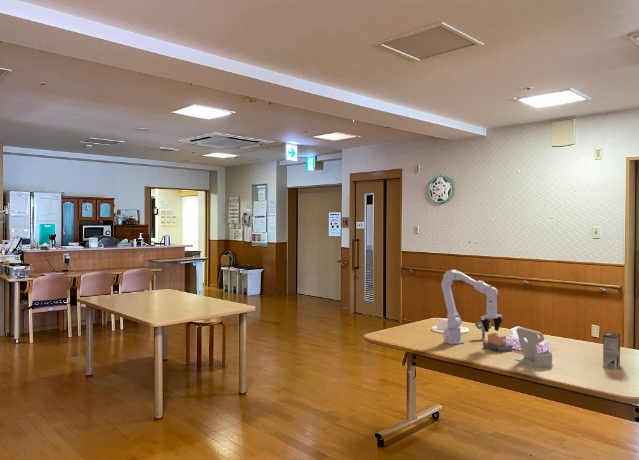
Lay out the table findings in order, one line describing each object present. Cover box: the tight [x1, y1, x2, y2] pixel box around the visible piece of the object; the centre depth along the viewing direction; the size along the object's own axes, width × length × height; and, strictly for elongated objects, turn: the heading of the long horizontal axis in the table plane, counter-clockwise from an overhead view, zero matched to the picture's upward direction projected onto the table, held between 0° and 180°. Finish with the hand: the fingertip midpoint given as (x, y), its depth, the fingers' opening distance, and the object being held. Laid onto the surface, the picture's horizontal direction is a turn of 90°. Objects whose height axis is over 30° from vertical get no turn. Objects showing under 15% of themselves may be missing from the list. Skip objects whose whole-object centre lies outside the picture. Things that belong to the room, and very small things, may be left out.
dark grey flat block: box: [482, 341, 514, 353], centre depth 288 cm, size 11×12×3 cm
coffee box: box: [602, 331, 621, 370], centre depth 253 cm, size 9×6×16 cm
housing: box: [487, 332, 507, 346], centre depth 288 cm, size 10×5×5 cm, turn 25°
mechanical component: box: [474, 321, 493, 340], centre depth 313 cm, size 3×10×10 cm, turn 89°
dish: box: [431, 317, 470, 335], centre depth 337 cm, size 25×25×11 cm
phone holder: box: [515, 326, 554, 369], centre depth 260 cm, size 17×10×18 cm, turn 24°
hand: (491, 331), depth 292 cm, fingers open, 7 cm apart
